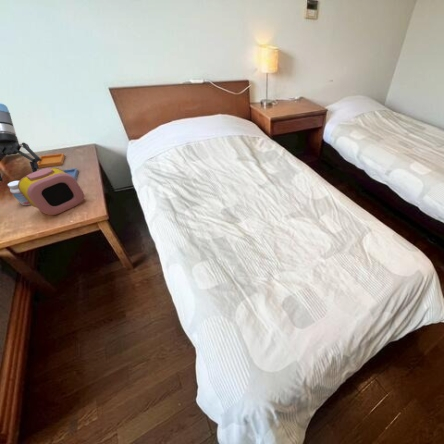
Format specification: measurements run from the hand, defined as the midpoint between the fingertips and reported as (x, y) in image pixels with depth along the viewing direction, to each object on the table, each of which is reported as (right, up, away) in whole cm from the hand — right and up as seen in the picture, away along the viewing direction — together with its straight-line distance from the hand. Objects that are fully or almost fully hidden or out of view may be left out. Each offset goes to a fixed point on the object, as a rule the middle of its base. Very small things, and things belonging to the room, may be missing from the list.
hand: (18, 177), depth 120 cm
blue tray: (+4, +4, +20) cm, 21 cm away
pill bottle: (+1, -12, +4) cm, 12 cm away
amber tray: (-14, +15, +31) cm, 37 cm away
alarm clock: (+19, -14, +4) cm, 23 cm away
